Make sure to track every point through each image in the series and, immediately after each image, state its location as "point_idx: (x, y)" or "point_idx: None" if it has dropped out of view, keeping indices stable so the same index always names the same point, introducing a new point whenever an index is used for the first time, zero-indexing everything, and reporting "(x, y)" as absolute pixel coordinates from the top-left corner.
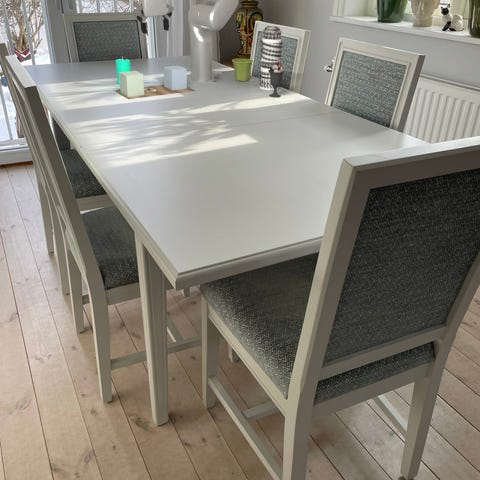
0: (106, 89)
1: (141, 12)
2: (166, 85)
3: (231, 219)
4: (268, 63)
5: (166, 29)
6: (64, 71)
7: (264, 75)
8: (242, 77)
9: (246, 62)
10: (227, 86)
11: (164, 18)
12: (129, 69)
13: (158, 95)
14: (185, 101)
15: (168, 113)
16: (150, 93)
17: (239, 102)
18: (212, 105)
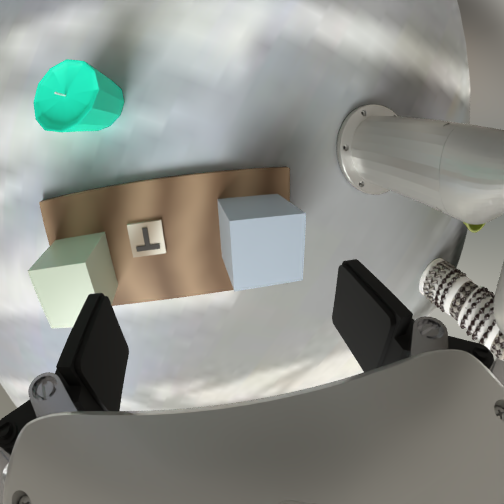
0: (33, 146)
1: (32, 450)
2: (219, 219)
3: None
4: (457, 318)
5: (336, 317)
6: None
7: (439, 299)
8: None
9: (473, 231)
10: (391, 235)
11: (397, 357)
12: (96, 119)
13: (158, 299)
14: (217, 340)
15: (151, 395)
16: (140, 273)
17: (320, 362)
18: (260, 373)
